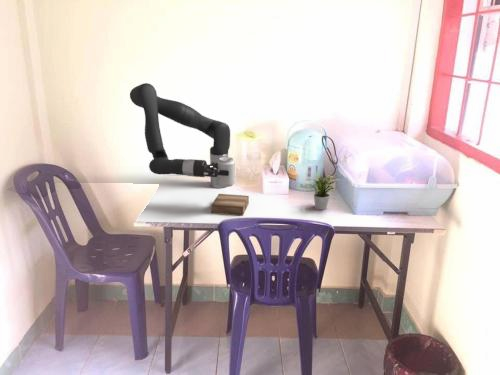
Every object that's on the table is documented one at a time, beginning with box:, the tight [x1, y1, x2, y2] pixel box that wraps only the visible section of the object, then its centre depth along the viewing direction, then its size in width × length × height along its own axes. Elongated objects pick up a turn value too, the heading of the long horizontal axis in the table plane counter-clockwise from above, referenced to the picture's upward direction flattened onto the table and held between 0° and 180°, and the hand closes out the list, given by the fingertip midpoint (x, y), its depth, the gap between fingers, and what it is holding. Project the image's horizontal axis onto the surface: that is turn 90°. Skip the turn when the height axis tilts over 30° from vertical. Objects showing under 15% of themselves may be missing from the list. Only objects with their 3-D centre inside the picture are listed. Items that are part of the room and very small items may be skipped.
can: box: [218, 156, 236, 188], centre depth 190 cm, size 8×8×12 cm
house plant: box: [308, 173, 340, 211], centre depth 194 cm, size 14×14×16 cm
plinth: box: [210, 193, 250, 216], centre depth 195 cm, size 14×14×4 cm
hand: (230, 170), depth 189 cm, fingers closed on can, 7 cm apart
